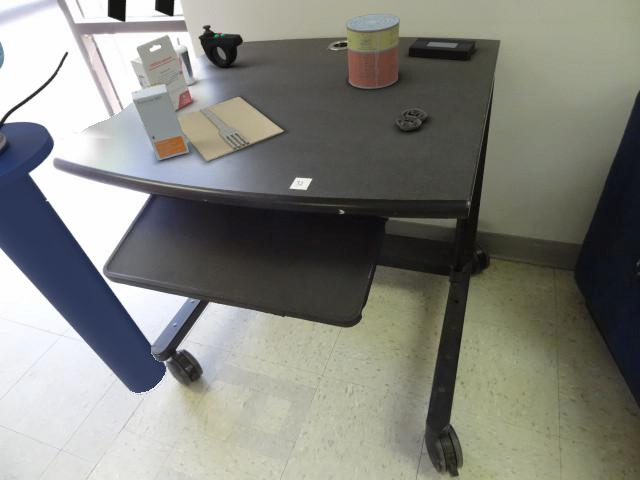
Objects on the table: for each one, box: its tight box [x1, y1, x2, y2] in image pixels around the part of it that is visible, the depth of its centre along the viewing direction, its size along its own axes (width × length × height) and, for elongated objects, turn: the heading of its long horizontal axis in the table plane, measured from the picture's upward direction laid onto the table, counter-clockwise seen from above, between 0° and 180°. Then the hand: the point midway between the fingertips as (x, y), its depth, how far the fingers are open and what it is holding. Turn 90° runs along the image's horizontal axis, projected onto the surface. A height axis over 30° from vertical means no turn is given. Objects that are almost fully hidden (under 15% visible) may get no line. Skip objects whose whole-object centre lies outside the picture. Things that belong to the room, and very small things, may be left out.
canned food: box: [345, 13, 401, 90], centre depth 88 cm, size 11×11×12 cm
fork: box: [199, 106, 249, 150], centre depth 81 cm, size 21×3×1 cm, turn 32°
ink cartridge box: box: [129, 34, 193, 111], centre depth 87 cm, size 9×5×15 cm, turn 143°
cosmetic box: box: [131, 84, 190, 161], centre depth 72 cm, size 6×4×12 cm
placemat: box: [177, 96, 285, 162], centre depth 82 cm, size 22×16×1 cm
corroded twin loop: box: [395, 107, 428, 132], centre depth 75 cm, size 5×8×1 cm, turn 151°
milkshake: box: [173, 37, 196, 86], centre depth 99 cm, size 4×5×10 cm
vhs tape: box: [408, 37, 476, 61], centre depth 99 cm, size 8×14×2 cm, turn 61°
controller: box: [197, 24, 244, 68], centre depth 105 cm, size 4×12×10 cm, turn 66°
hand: (139, 16), depth 64 cm, fingers open, 13 cm apart
